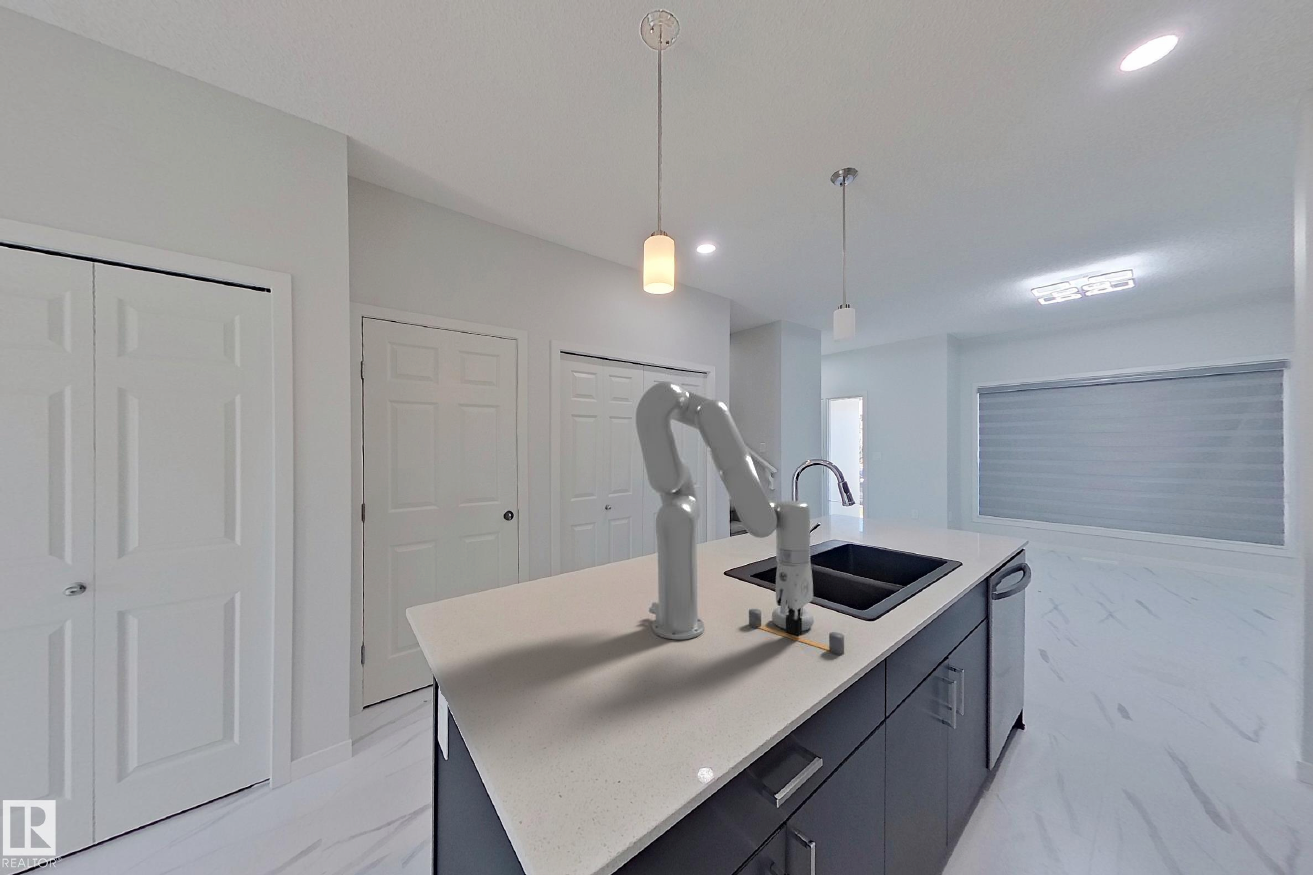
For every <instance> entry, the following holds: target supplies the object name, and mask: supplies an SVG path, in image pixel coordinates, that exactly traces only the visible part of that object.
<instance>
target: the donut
mask: <svg viewBox="0 0 1313 875" xmlns="http://www.w3.org/2000/svg"><path fill="white" fill-rule="evenodd" d="M780 607H781V606H778V607H775V609H773V611H772V613H771V619H772V621H773V624H775V625H776V626H777V627H778V628H781V629H784V630H786V617H785V615H783V614H780ZM801 618H802V632H804V631H806V630H809V629H811V628H812V626H813V625H814V622H815V620H814V615H813V614H812V613H811V612H810V611H809V610H807V609H806V608H804V607H803V615H802V617H801Z"/></svg>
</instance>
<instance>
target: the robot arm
mask: <svg viewBox="0 0 1313 875" xmlns="http://www.w3.org/2000/svg"><path fill="white" fill-rule="evenodd" d="M635 412H636V413H635V426H636V433H637V436H638V440H639V444H640V448H641V453H642V458H643V462H644V467H645V469H646V473H647V481H648V483H649V485H650V487H651V489H652V490H654V492H656V493H658V494H659V496H660V501H661V506H660V508H659V509H658V511H657V513H656V518H655V533H656V544H657V545H656V546H657V577H658V578H657V579H658V580H657V588H658V589H657V590H658V592H657V593H658V598H657V599H658V600H657V601H658V602H656V601H653V602H652V604H651V607H649V608H648V612H649V613H650V614H652V615H655V619H654V620H653V622H652V626H651V627H652V628H651V629H652V631H653V632H654V633H655V634H656V635H658V636H659V637H661V638H665V639H669V640H688V639H693V638H696V637H699V636H700V635H701V634H703V632H704V631H705V622H704V621H703V620H702V619H701V618H699V615H698V614H699V613H698V610H699V609H698V607H699V606H698V552H697V547H698V546H697V524H698V522H699V520H700V515H701V514H700V513H701V511H700V504H699V500H698V496H697V493H696V488H695V485H694V481H693V478H692V473H691V470H690V468H689V465H688V463H687V462H686V460H685V459H684V458H683V457H680V455H679V452H678V449H677V445H676V440H675V436H674V432H673V430H672V426H671V420H674V421H676V422H677V423H681V424H684V425H685V426H688V427H691V428H694V429H696V430H698V433H699V434H700V436H701V438H702V440H703V442H704V444H705V446H706V448H707V450H708V453H709V455H710V458H711V459H712V461H713V464H714V466H715V467H716V470H717V473H718V475H719V478H720V480H721V481H722V483H723V485H724V486H725V489H726V492H727V493H728V496H729V499H730V501H731V503H732V505H733V507H734V509H735V512H736V514H737V516H738V518H739V520H740V522H741V523H742V526H743V528H744V530H745V531H746V532H747V533H748V534H749V535H750V536H752V537H755V538H759V539H762V538H763V539H764V538H766V537H767V538H768V537H769V536H771V535H772V534H773V533H774V532H775V534H776V536H775V537H776V538H775V540H776V544H775V545H776V550H775V551H776V559H775V560H776V562H777V565H776V574H775V575H776V576H775V602H776V605H777V606H778V607H780V606H781V607H780V614H783V615H785V617H786V629H785V633H787V634H790V635H793V636H796V637H800V636H802V634H803V631H802V618H801V617H802V615H803V608H804V606H807V605H808V604H810V603H811V602H812V600H813V599H814V583H813V572H812V565H811V564H812V563H811V510H810V505H808V503H806V502H804V501H798V500H783V501H779V500H770V499H769V498H768V496H767V494H766V492H765V489H764V488H763V485H762V484H761V481H760V479H759V476H758V474H757V471H756V468H755V464H754V462H753V459H752V456H751V454H750V451H749V450H748V448H747V446H746V444H745V442H744V440H743V438H742V436H741V434H740V431H739V429H738V427H737V424H736V422H735V420H734V419H733V417H732V414H731V412H730V410H729V408H728V407H727V405H726V404H725V403H724V402H722V401H721V400H719V399H709V398H708V397H704V396H701V395H699V394H696V393H694V392H691V391H689V390H687V389H684V388H682V387H681V386H679V385H678V384H677V383H674V382H671V381H661V382H658V383H656V384H654V385H652V386H651V387H650V388H648V389H647V390H646V391H645V393H643V395H642V396H641V398H640V400H639V402H638V403H637V406H636V411H635Z"/></svg>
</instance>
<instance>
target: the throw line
mask: <svg viewBox="0 0 1313 875" xmlns="http://www.w3.org/2000/svg"><path fill="white" fill-rule="evenodd" d="M748 626H749V627H750V628H752V629H760V630H764V631H767V632H770V633H773V634H775V635H779V636H781V637H785V638H788V639H792V640H794V641H798V642H800V643H804V644H807V645H811V646H813V647H816V648H819V649H822V650H825V651H829V653H832V654H833V655H836V656H841V655H842V656H843V655H844V654H845V636H844V634H843V633H841V632H837V631H836V632H835V631H832V632H829V633H828V637H829V638H828V643H829V644H828V645H824V644H822V643H818V642H816V641H812V640H809V639H806V638H803V637H800V636H799V637H796V636H793V635H790V634H787V633H786V632H783V631H782V630H781V631H780V630H777V629H774V628H770V627H768V626H765V625H762V610H760V609H758V608H751V609H748Z"/></svg>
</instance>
